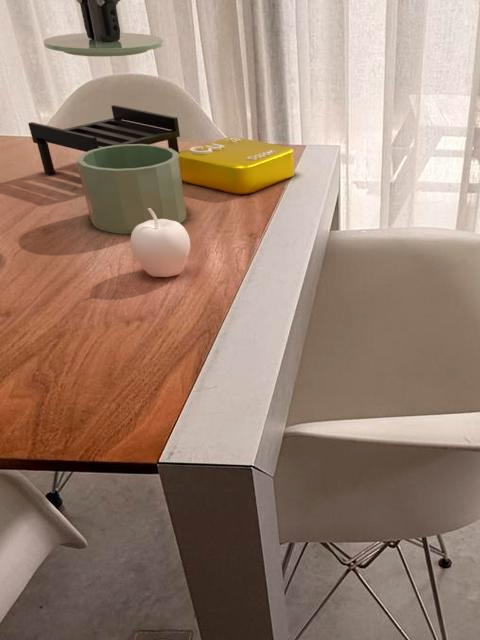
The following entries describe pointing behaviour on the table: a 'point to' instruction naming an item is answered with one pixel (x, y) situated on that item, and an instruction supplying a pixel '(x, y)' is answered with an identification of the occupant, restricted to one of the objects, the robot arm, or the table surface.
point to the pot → (131, 185)
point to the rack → (107, 133)
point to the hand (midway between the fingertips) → (104, 39)
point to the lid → (102, 41)
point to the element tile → (236, 165)
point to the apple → (160, 246)
